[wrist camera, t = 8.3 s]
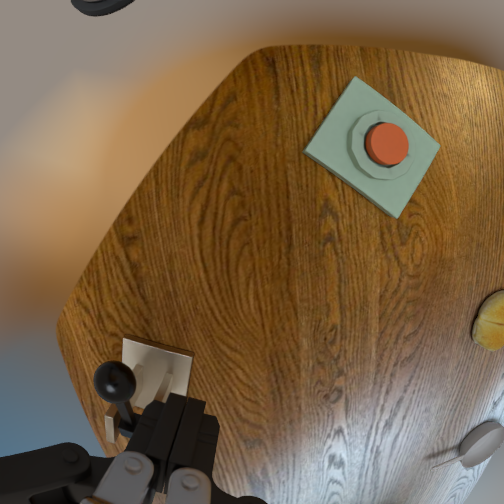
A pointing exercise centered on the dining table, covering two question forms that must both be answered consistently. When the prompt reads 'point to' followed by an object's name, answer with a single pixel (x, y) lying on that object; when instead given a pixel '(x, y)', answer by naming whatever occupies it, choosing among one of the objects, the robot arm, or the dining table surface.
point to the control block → (356, 156)
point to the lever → (118, 392)
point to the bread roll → (490, 323)
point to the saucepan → (478, 445)
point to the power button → (387, 144)
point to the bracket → (151, 376)
